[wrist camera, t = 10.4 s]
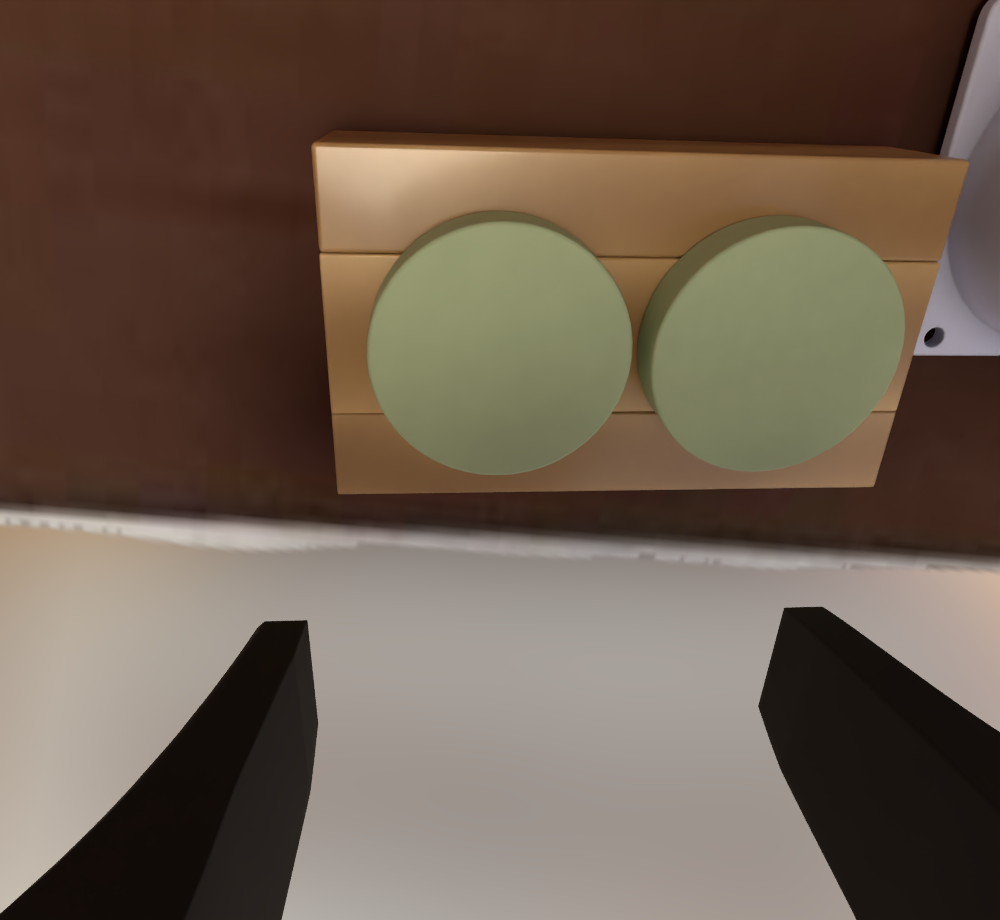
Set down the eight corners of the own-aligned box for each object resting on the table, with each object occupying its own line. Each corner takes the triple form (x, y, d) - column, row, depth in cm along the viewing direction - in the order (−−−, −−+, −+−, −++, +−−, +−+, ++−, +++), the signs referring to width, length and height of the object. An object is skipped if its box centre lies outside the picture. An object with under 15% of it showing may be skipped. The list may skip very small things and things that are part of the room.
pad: (603, 191, 17) (649, 223, 14) (584, 402, 20) (618, 475, 16) (373, 186, 17) (358, 218, 13) (383, 402, 19) (372, 478, 16)
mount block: (329, 130, 16) (309, 141, 14) (890, 146, 17) (973, 160, 15) (349, 437, 20) (337, 494, 17) (817, 434, 21) (873, 487, 18)
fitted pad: (837, 196, 18) (939, 228, 14) (790, 400, 20) (868, 471, 16) (620, 191, 17) (670, 222, 14) (598, 400, 20) (637, 474, 16)
